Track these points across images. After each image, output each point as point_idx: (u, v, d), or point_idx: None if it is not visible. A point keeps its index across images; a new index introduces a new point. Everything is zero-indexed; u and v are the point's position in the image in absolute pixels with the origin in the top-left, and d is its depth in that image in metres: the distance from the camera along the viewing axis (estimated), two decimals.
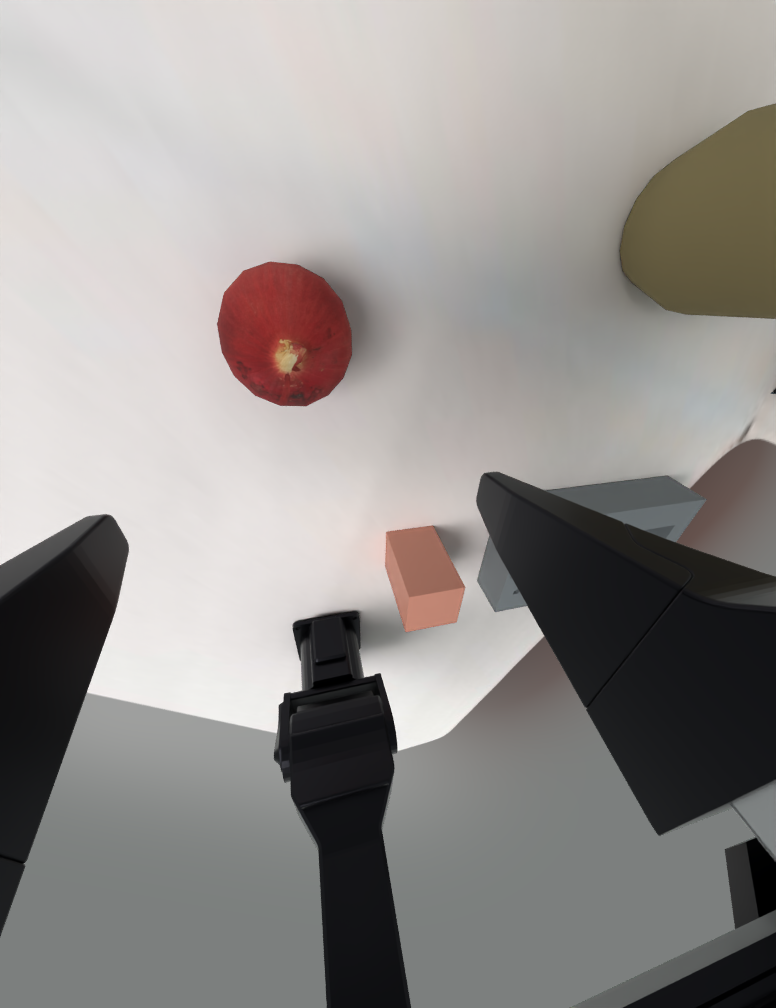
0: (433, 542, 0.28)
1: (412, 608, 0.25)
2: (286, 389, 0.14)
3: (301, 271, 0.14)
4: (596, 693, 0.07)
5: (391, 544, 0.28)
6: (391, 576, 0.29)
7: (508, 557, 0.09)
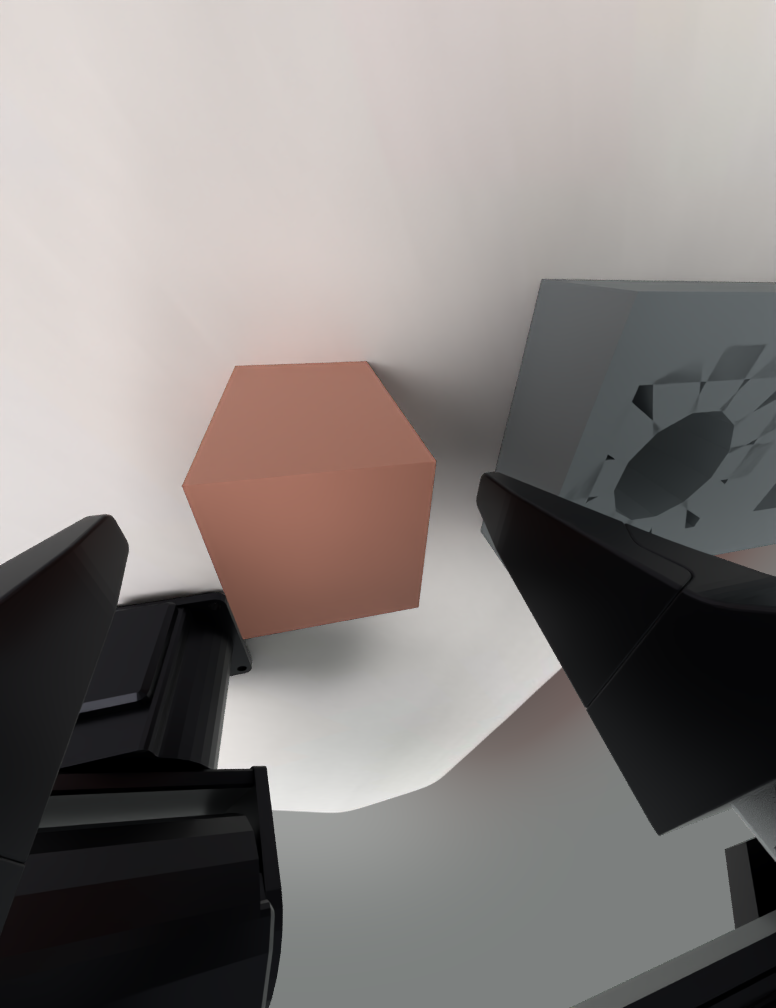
0: (356, 380, 0.10)
1: (227, 546, 0.06)
2: None
3: None
4: (596, 693, 0.07)
5: (231, 381, 0.10)
6: None
7: (508, 557, 0.09)
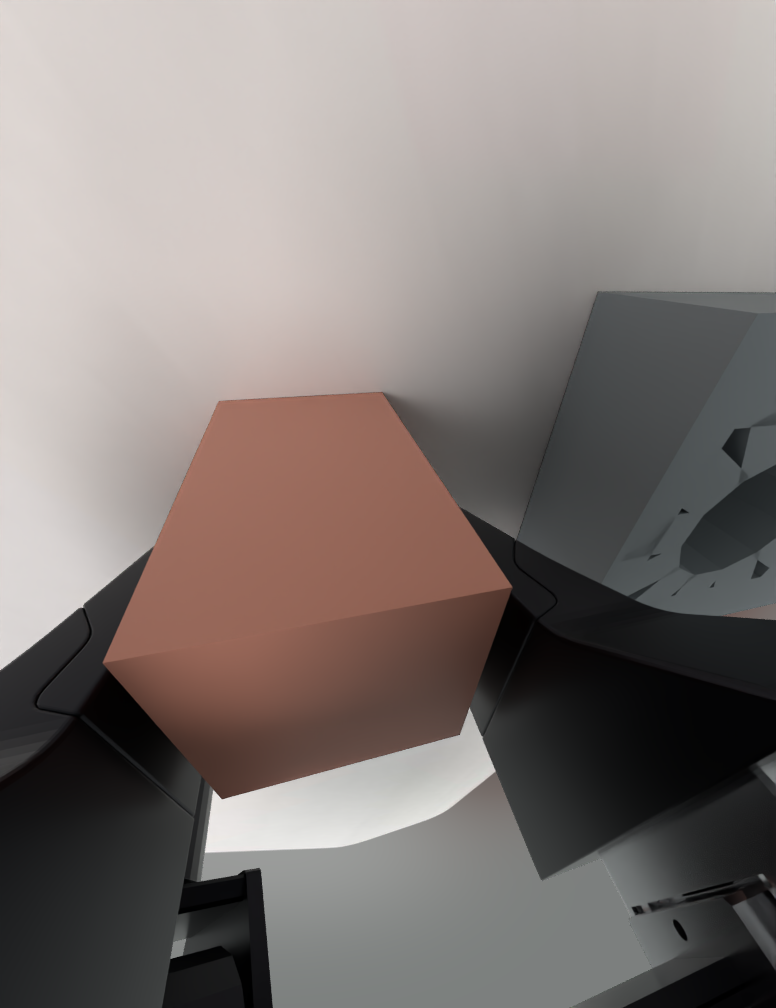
0: (372, 423, 0.08)
1: (189, 718, 0.04)
2: None
3: None
4: (488, 722, 0.06)
5: (211, 427, 0.07)
6: None
7: None
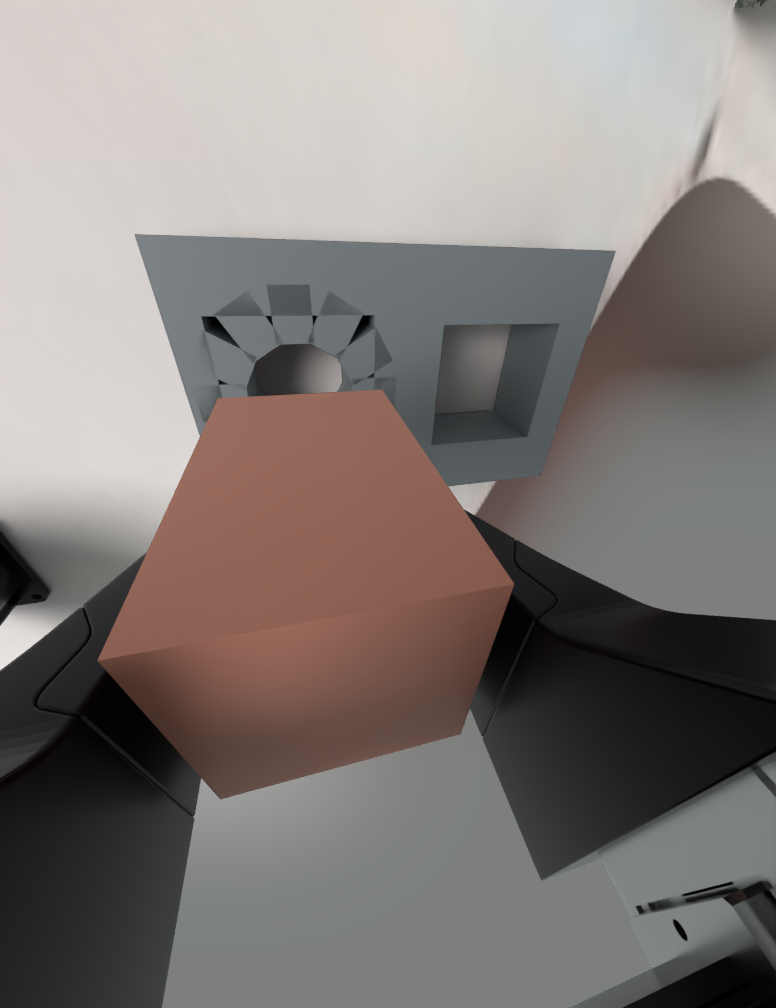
0: (372, 420, 0.08)
1: (187, 717, 0.04)
2: None
3: None
4: (488, 722, 0.06)
5: (210, 424, 0.07)
6: None
7: None
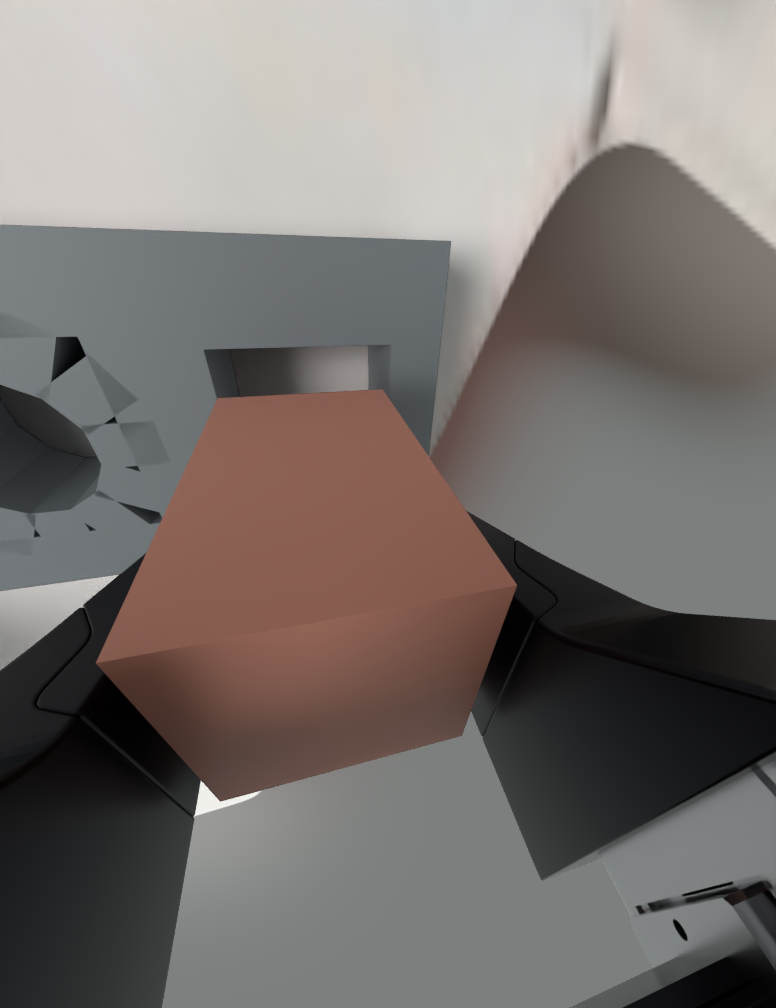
0: (373, 420, 0.08)
1: (186, 719, 0.04)
2: None
3: None
4: (488, 722, 0.06)
5: (210, 424, 0.07)
6: None
7: None
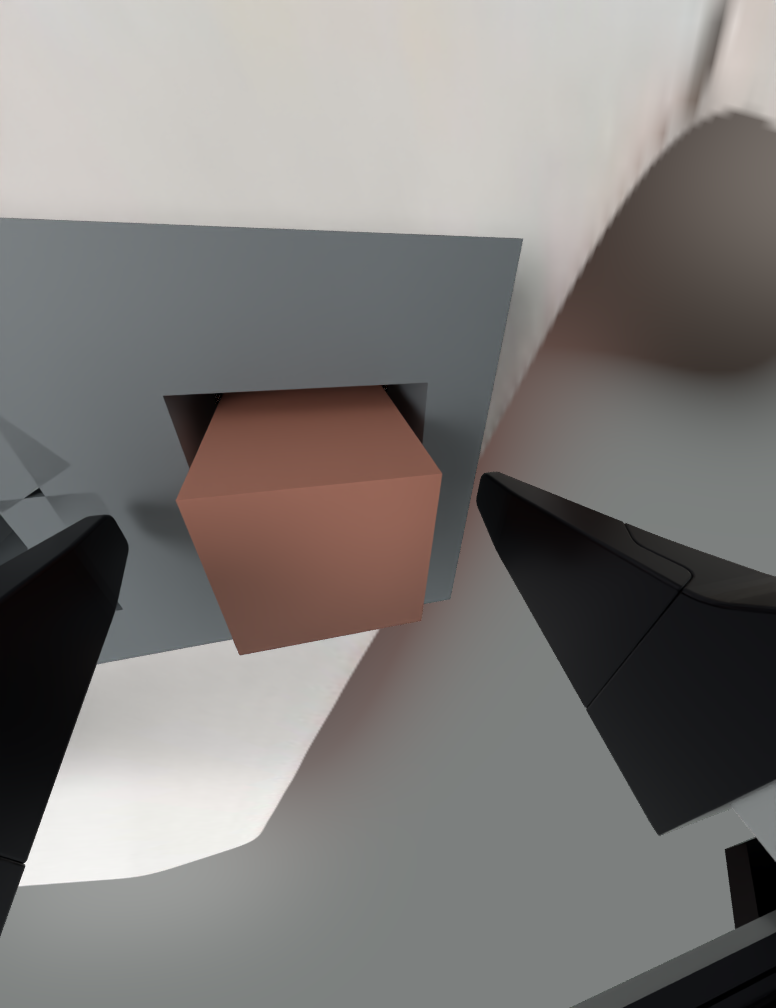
0: None
1: (223, 561, 0.06)
2: None
3: None
4: (596, 693, 0.07)
5: None
6: None
7: (508, 557, 0.09)
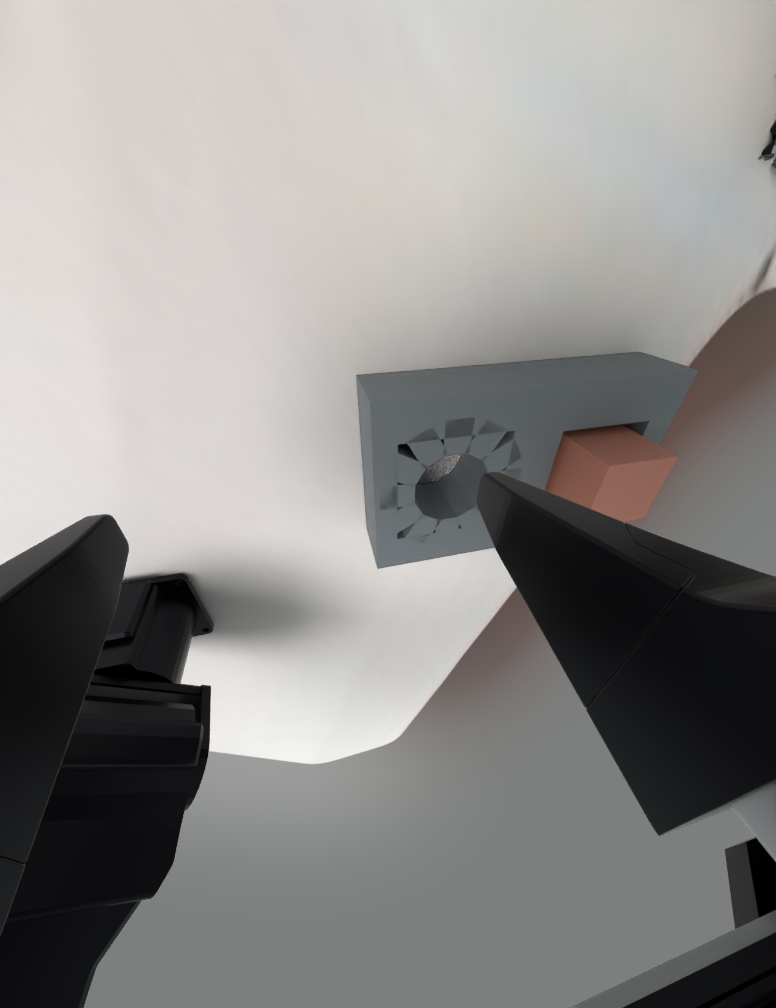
0: None
1: (605, 487, 0.18)
2: None
3: None
4: (596, 693, 0.07)
5: None
6: None
7: (508, 557, 0.09)
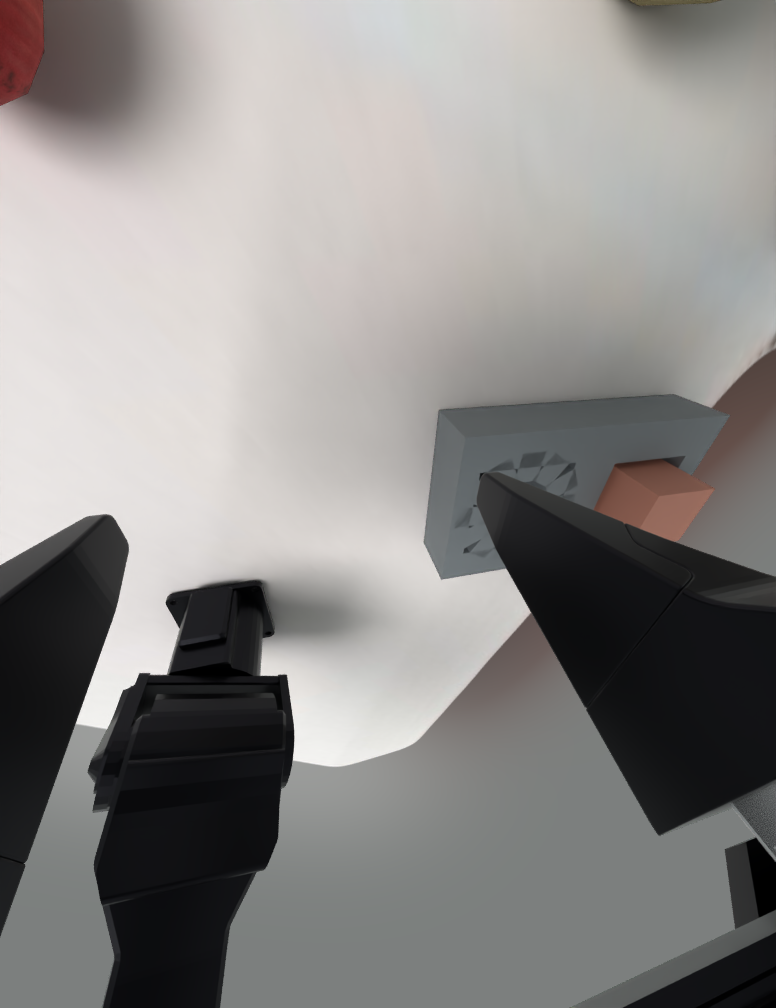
0: None
1: (652, 513, 0.21)
2: None
3: None
4: (597, 693, 0.07)
5: None
6: None
7: (508, 557, 0.09)
